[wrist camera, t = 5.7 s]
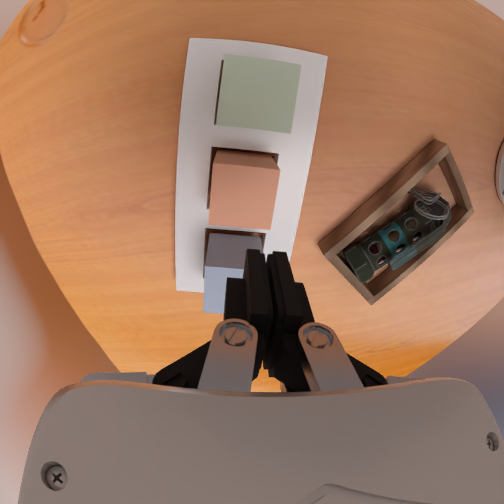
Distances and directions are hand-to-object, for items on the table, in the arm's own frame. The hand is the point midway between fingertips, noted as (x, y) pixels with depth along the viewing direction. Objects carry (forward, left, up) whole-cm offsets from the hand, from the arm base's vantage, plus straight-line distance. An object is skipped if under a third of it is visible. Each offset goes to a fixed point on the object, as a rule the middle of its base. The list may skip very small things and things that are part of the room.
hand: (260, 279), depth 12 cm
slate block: (+7, +5, -15) cm, 17 cm away
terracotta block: (0, 0, -17) cm, 17 cm away
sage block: (-6, -5, -15) cm, 17 cm away
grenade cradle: (-10, +17, -17) cm, 26 cm away
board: (0, 0, -17) cm, 17 cm away
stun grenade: (-8, +16, -18) cm, 25 cm away
